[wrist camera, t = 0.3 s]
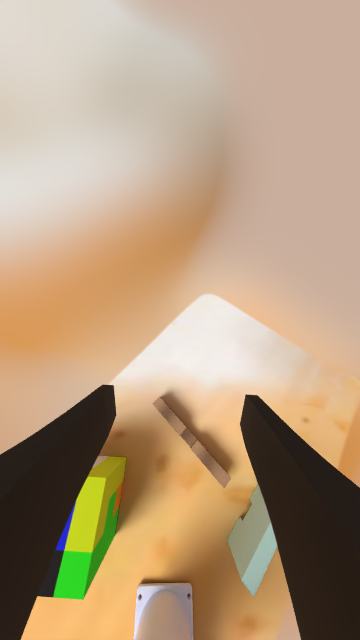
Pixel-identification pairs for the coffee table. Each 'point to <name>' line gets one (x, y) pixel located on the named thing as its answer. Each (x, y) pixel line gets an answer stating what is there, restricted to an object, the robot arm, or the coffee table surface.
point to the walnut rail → (193, 442)
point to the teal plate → (253, 543)
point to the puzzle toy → (86, 532)
